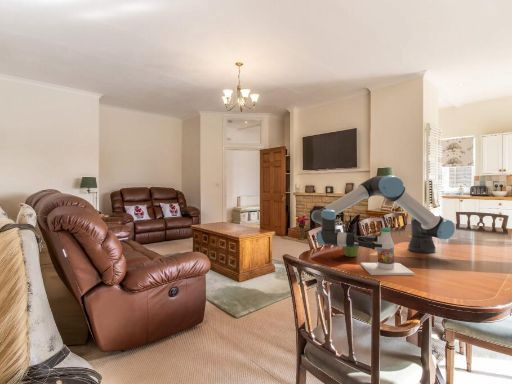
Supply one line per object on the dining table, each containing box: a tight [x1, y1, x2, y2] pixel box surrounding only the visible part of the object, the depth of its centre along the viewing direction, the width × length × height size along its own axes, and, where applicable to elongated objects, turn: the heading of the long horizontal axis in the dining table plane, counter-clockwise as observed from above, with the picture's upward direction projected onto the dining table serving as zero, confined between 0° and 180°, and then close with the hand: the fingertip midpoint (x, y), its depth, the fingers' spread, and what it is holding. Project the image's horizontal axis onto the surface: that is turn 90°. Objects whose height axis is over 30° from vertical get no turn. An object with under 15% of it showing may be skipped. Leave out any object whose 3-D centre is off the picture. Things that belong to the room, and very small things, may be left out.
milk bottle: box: [376, 227, 395, 269], centre depth 142 cm, size 8×8×20 cm
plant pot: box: [342, 235, 360, 258], centre depth 170 cm, size 12×12×11 cm
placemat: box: [360, 262, 415, 276], centre depth 142 cm, size 20×16×1 cm
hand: (390, 243), depth 141 cm, fingers open, 13 cm apart
